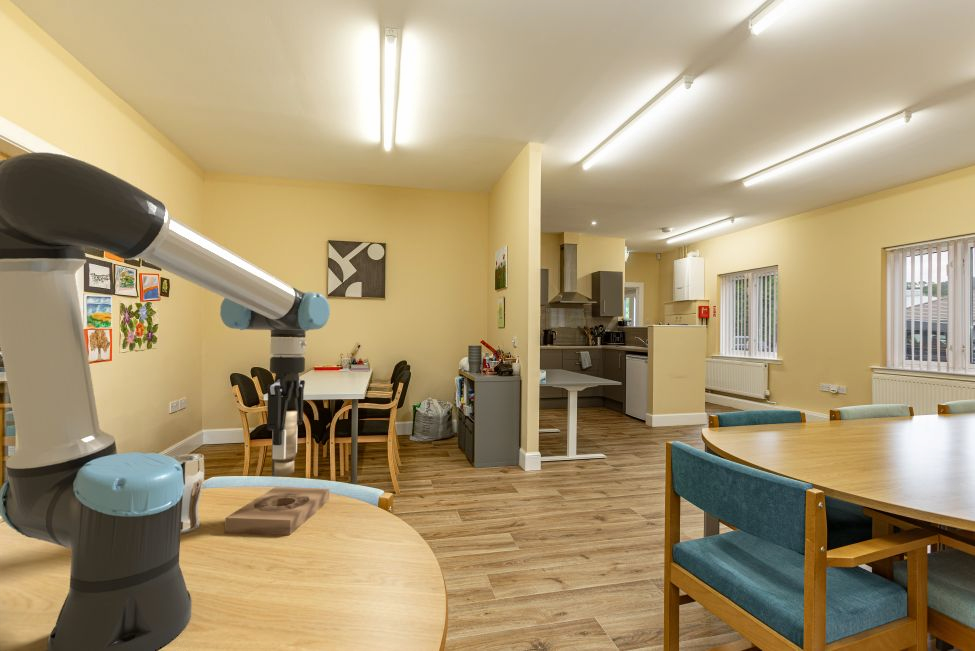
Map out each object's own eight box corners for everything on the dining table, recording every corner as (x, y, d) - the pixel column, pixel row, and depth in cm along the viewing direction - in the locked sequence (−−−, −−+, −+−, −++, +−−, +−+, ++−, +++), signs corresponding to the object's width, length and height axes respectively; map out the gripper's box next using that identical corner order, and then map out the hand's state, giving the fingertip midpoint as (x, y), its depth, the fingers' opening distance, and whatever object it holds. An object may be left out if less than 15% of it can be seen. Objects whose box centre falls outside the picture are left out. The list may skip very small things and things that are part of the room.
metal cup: (186, 536, 90) (190, 462, 91) (153, 535, 90) (157, 461, 91) (209, 522, 97) (212, 453, 98) (178, 521, 97) (181, 453, 98)
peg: (289, 475, 100) (291, 414, 101) (268, 475, 100) (270, 413, 101) (299, 469, 105) (300, 410, 105) (279, 469, 105) (281, 410, 106)
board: (290, 534, 92) (290, 520, 92) (224, 532, 92) (225, 517, 92) (328, 500, 112) (329, 488, 112) (275, 498, 112) (275, 486, 112)
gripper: (284, 357, 94) (280, 467, 94) (319, 354, 112) (317, 446, 111) (250, 357, 95) (246, 466, 94) (290, 354, 113) (288, 446, 112)
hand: (284, 455), depth 103 cm, fingers closed on peg, 5 cm apart
